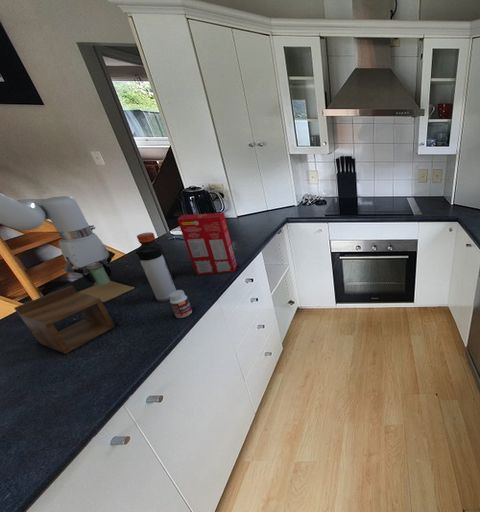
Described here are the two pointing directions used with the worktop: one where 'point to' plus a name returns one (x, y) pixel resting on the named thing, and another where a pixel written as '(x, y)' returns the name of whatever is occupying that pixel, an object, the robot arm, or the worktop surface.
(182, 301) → the pill bottle
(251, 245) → the worktop surface
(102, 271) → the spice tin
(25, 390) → the worktop surface
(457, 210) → the worktop surface
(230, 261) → the food packaging
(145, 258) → the travel mug
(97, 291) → the cork mat
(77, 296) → the shelf unit
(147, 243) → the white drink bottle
